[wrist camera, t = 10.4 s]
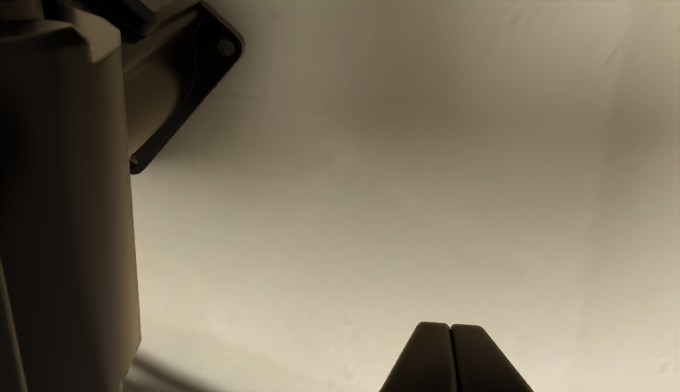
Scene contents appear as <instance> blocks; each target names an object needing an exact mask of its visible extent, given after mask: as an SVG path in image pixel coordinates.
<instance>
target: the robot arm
mask: <svg viewBox="0 0 680 392" xmlns="http://www.w3.org/2000/svg"><path fill="white" fill-rule="evenodd" d="M223 40H229V41H231V42H232V43H233V45H234V49H235V50H234V52H233V53H228V52H226V51H225V50H224V49H223V47H222V41H223ZM244 51H245V42H244V38H243V37H242V36H241V35H240V33H239V32H238V31H237V30H235V29H234V28H233V27H232V26H231V25H230V24H229V23H228V22H227V21H226V20H225V19H223V18H222V17H221V16H220V15H219V14H218V13H217V12H216V11H215V10H214V9H213V8H212V7H210V6H209V5H208V4H207V3H206V2H205V1H204V0H0V392H123V386H122V380H123V379H124V377H125V376H126V375H127V373H128V371H129V368H130V366H131V364H132V361H133V359H134V356H135V354H136V352H137V349H138V347H139V345H140V342H141V325H140V308H139V293H138V279H137V264H136V250H135V236H134V221H133V207H132V192H131V178H130V174H133V175H135V174H139V173H141V172H142V171H143V170H144V169H145V168H146V167H147V166H148V165H149V164H150V162H151V161H152V160H153V159H154V158H155V157H156V155H157V154H158V153H159V152H160V151H161V150H162V148H163V147H164V146H165V145H166V144H167V143H168V141H169V140H170V139H171V138H172V137H173V136H174V135H175V133H176V132H177V131H178V130H179V129H180V128H181V126H182V125H183V124H184V123H185V122H186V121H187V119H188V118H189V117H190V116H191V115H192V114H193V112H194V111H195V110H196V109H197V108H198V107H199V105H200V104H201V103H202V102H203V101H204V100H205V98H206V97H207V96H208V95H209V94H210V93H211V92H212V90H213V89H214V88H215V87H216V86H217V85H218V83H219V82H220V81H221V80H222V79H223V78H224V76H225V75H226V74H227V73H228V72H229V71H230V69H231V68H232V67H233V66H234V65H235V64H236V62H237V61H238V60H239V59H240V58H241V57H242V55H243V53H244ZM131 155H133V156H135V157H136V159H137V160H138V163H134V162H132V161H131V160H130V159H129V157H130V156H131ZM379 392H534V391H533V390H532V389H531V387H530V386H529V385H528V384H527V382H526V381H525V380H524V379H523V377H522V376H521V375H520V374H519V372H518V371H517V370H516V369H515V367H514V366H513V365H512V364H511V362H510V361H509V360H508V359H507V357H506V356H505V355H504V354H503V352H502V351H501V350H500V349H499V347H498V346H497V345H496V344H495V342H494V341H493V340H492V339H491V338H490V336H489V335H488V334H487V333H486V331H485V330H484V329H483V328H482V327H480V326H477V325H465V324H453V325H452V326H451V327H449V326H448V325H447V324H446V323H436V322H420V323H419V324H418V325H417V326H416V328H415V330H414V332H413V333H412V335H411V337H410V339H409V340H408V342H407V344H406V346H405V347H404V349H403V351H402V353H401V354H400V356H399V358H398V360H397V361H396V363H395V365H394V367H393V369H392V370H391V372H390V374H389V376H388V377H387V379H386V381H385V383H384V384H383V386H382V388H381V390H380V391H379Z"/></svg>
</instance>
